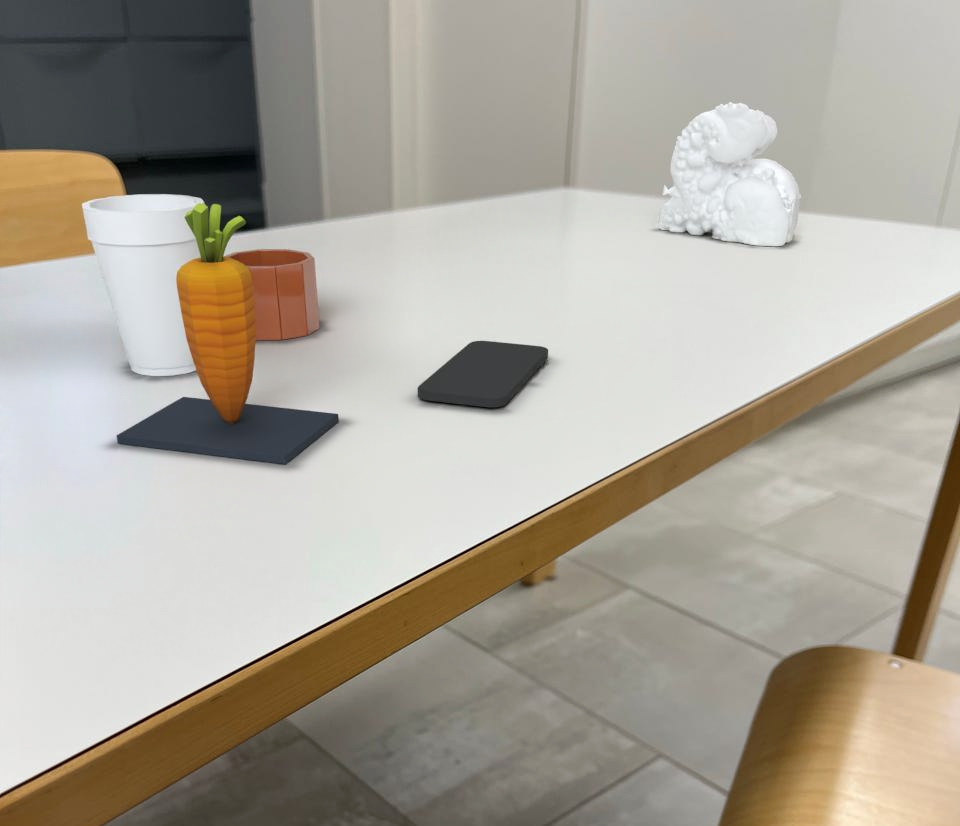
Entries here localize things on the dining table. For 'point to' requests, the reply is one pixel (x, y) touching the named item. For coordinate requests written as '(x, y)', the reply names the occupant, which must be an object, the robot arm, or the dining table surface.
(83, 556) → the dining table surface
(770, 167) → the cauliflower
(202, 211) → the carrot
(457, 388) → the phone
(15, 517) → the dining table surface
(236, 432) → the mat
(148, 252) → the foam cup
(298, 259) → the holder
